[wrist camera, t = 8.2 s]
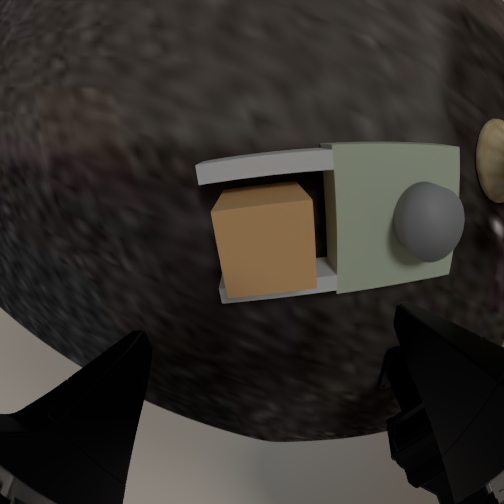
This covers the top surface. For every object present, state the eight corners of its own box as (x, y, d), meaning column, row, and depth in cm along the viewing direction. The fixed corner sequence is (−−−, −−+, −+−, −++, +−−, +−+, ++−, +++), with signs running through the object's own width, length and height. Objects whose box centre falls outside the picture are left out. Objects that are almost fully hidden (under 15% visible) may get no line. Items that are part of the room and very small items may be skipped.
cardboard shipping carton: (301, 247, 21) (316, 288, 15) (234, 255, 21) (227, 298, 15) (295, 180, 19) (312, 199, 13) (223, 189, 19) (210, 212, 14)
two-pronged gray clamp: (436, 143, 17) (476, 150, 12) (431, 258, 21) (462, 285, 16) (203, 157, 18) (186, 163, 13) (226, 285, 22) (219, 324, 17)
